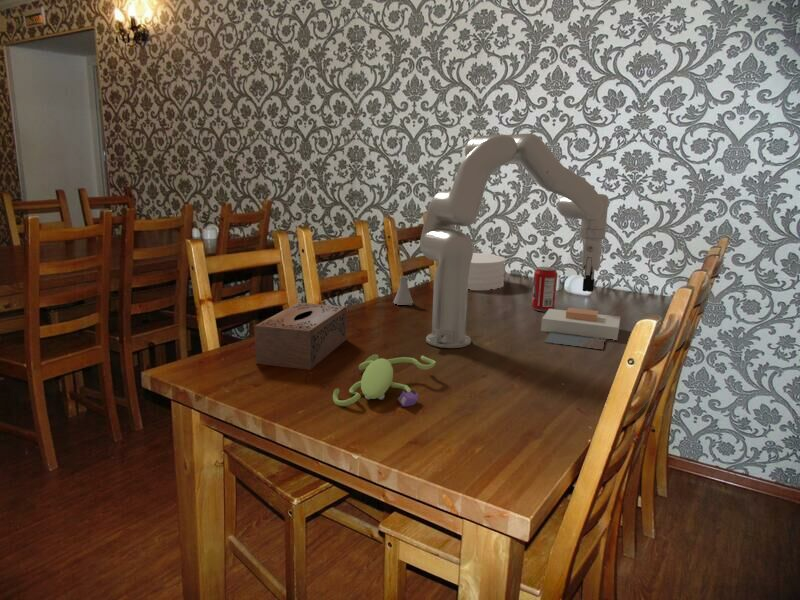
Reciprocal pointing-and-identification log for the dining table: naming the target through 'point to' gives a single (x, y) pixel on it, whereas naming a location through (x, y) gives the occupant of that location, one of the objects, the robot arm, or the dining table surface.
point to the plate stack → (486, 272)
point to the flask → (403, 293)
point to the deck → (581, 325)
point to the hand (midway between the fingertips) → (587, 290)
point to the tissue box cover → (300, 335)
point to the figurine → (382, 380)
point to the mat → (569, 339)
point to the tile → (582, 314)
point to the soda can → (544, 289)
